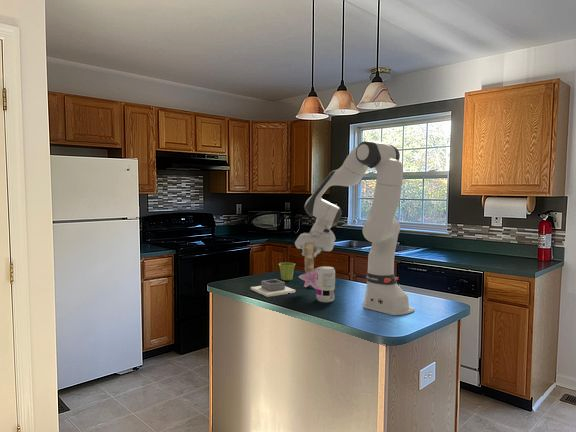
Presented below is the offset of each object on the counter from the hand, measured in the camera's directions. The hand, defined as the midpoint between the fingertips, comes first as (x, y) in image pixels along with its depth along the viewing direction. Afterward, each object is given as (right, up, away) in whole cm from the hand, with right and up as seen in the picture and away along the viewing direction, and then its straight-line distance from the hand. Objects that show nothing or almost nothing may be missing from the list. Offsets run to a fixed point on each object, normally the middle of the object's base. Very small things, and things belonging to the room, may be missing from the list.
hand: (308, 255), depth 202 cm
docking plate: (-17, -18, +3) cm, 25 cm away
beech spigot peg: (0, -8, +1) cm, 8 cm away
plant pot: (-11, -16, +29) cm, 35 cm away
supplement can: (+7, -19, -12) cm, 24 cm away
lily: (+2, -18, +13) cm, 22 cm away
